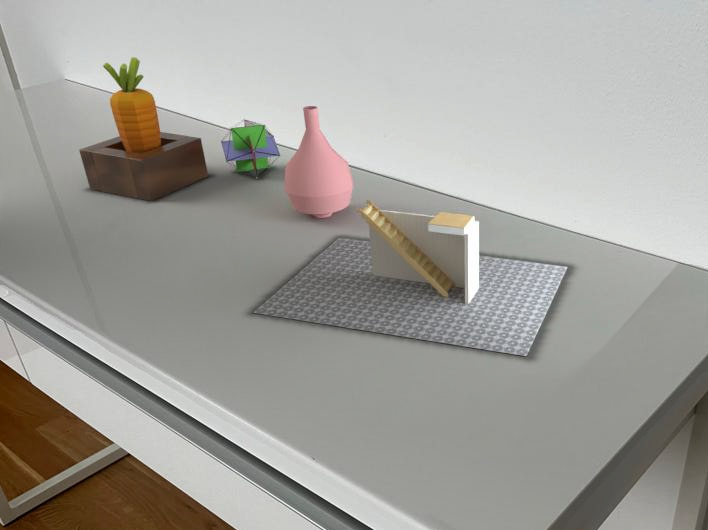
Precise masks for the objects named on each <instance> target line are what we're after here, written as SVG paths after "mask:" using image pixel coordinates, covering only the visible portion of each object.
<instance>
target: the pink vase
mask: <svg viewBox="0 0 708 530" xmlns="http://www.w3.org/2000/svg"><path fill="white" fill-rule="evenodd" d="M302 111H303V118H304V126H305V130H304V134H303V136H302V138H301V141H300V144H299V147H298V148H297V150H296V152H295V153H294V154H293V155H292V157H291V158H290V160H289V161H288V162H287V164H286V165H285V171H284V191H285V193H286V196H287V198H288V200H289V202H290V205H291V206H292V208H293V209H294V210H295V211H296V212H300V213H303V214H309V215H312V217H314V218H318V219H324V218H325V219H326V218H329V217H331V216H333V213H336V212H339V211H342V210H344V209H346V208H347V207H348V206H349V205H350V204H351V199H352V196H353V190H354V185H355V183H354V180H353V177H352V173H351V169H350V166H349V162H348V161H347V160H346V159H344V157H343V156H341V155H340V154H339V153H338V152H337V151H336V150H335V149H334V148H333V147H332V146H331V144H330V143H329V141H328V140H327V138H326V136H325V135H324V133H323V132H322V130H321V128H320V127H321V126H320V119H319V117H320V116H319V109H318V106H316V105H315V106H314V105H306V106H303V107H302Z"/></svg>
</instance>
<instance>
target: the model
mask: <svg viewBox="0 0 708 530" xmlns="http://www.w3.org/2000/svg"><path fill="white" fill-rule="evenodd" d="M366 204H367V206H366V207H364V208H363V209H362V208H360V207H356V212H357V213H360V216H361V219H362V220H363V221H364V222H365V223H367V225H368V233H369V240H368V241H369V246H370V258H371V270H372V275H373V276H379V277H387V278H392V279H400V280H408V281H416V282H424V283H428V284H430V285H431V286H432V287H433V288H434V289H435V290H436V291H437V292H438V293H439V294H440V295H441V296H444V297H448V296H449V293H448V292H449V291H450V290H451V288H452V287H457V288H464V303H465V304H469V303H470V301H471V300H472V298H473V297H474V295H475V294H476V293H477V291H478V290H479V288H480V256H481V255H480V220H475V215H471V214H470V215H469V214H460V213H453V212H445V211H438V212H437V213H436V214H435V215H430V214H422V213H414V212H407V211H406V212H404V211H395V210H388V209H379V207H377V206H376V205H375V204H374V203H373V202H372V201H371V200H370V199H366Z"/></svg>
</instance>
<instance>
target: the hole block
mask: <svg viewBox="0 0 708 530" xmlns="http://www.w3.org/2000/svg"><path fill="white" fill-rule="evenodd" d="M160 136H161V147H158V148H156V149H153V150H150V151H147V152H145V153H142V154H141V153H135V152H129V151H126V149H125V147H124V145H123V143H122V140H121V138H120V135H118V136H116V137H113V138H110V139H106V140H104V141H101V142H98V143H94V144H92V145H89V146H86V147H82V148H79V149H78V151H79V155H80V159H81V161H82V165H83V169H84V172H85V177H86V179H87V183H88V186H89V189H90V190H91V191H96V192H103V193H108V194H113V195H117V196H122V197H128V198H131V199H132V198H133V199H140V200H145V201H149V202H152V201H155V200H157V199H159V198H162V197H164V196H167V195H169V194H171V193H173V192H176V191H178V190H180V189H182V188H185V187H187V186H189V185H192V184H194V183H197V182H198V181H201V180H203V179H205V178H207V177H209V172H208V167H207V163H206V158H205V152H204V146H203V143H202V138H201V137H196V136H189V135H185V134H177V133H171V132H165V131H160Z"/></svg>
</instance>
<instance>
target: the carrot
mask: <svg viewBox="0 0 708 530" xmlns="http://www.w3.org/2000/svg"><path fill="white" fill-rule="evenodd" d="M140 63H141V61H140V59H138V58H137V57H136V56H135V57H134V56H133V57H131V58H130V62H129V65H127V64H126V63H122V64H121V65H120V66H119V73H118V72H117V71H116V69H115V68H114V67H113V66H112V65H111V64H110V63H108V62H107V61H106V62H105V63H104V64H103V65H102V67H103V68H104V69H105V70H106V71H107V72H108V73H109V74H110V76H111V77H112V78H113V79H114V81H115V82H116V83H117V85H118V86H119V87H120V89H119V90H117V91H116V92H114V93H112V95H111V96H110V98H109V103H110V109H111V112H112V115H113V119H114V123H115V127H116V129H117V132H118V136H120V138H121V140H122V143H123V145H124V147H125V149H126V151H129V152H135V153H141V154H142V153H145V152H147V151H150V150H153V149H156V148H158V147H161V136H160V132H161V128H160V121H159V115H158V110H157V105H156V100H155V97H154V96H153V94H152V93H151V92H150V91H148V90H145V89H142V88H137V87H138V85H139V84H140V82H141V81H143V78H144V75H143V74H138V71H139V68H140Z"/></svg>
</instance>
